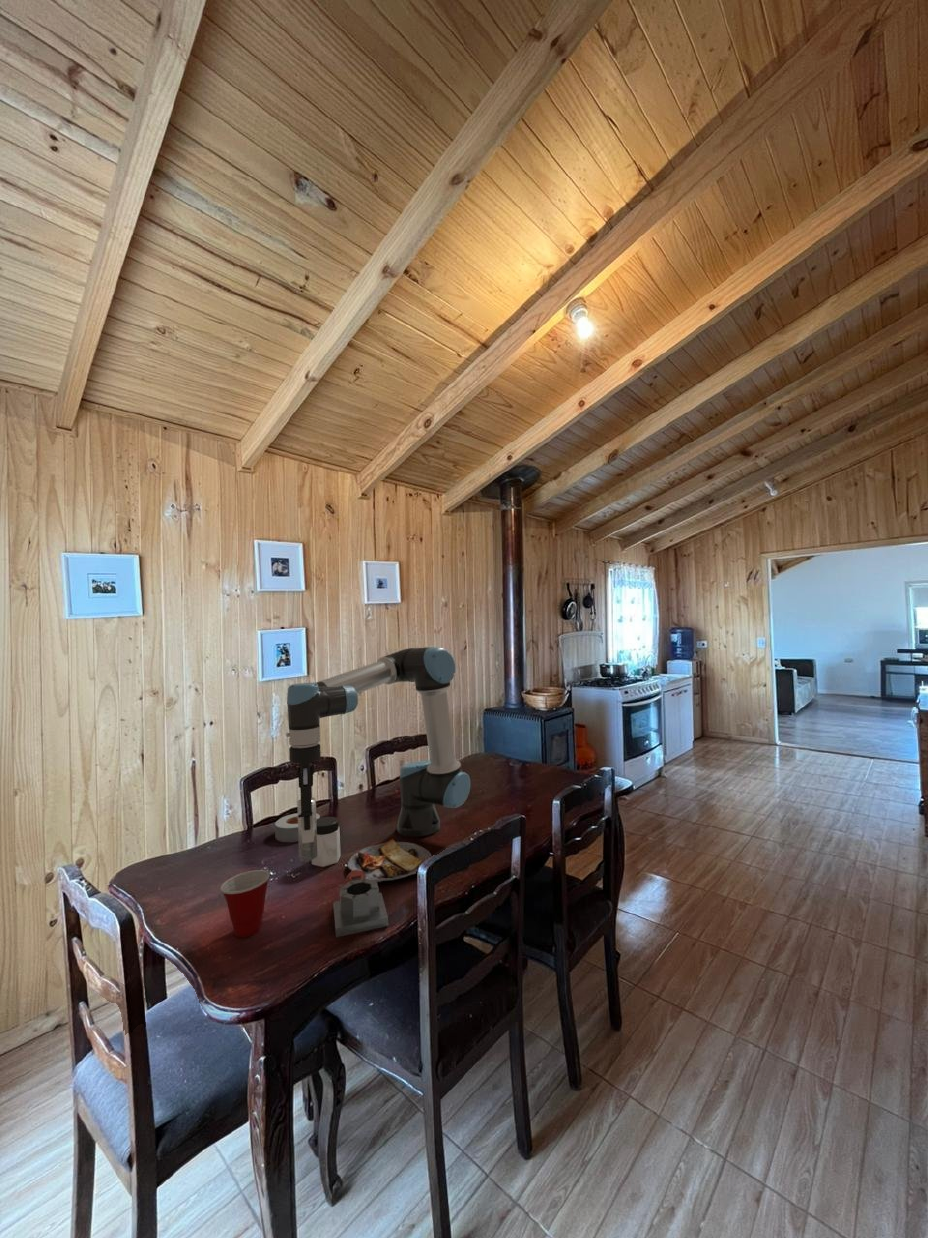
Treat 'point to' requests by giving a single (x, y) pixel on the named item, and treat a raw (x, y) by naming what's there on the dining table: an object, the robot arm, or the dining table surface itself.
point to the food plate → (388, 860)
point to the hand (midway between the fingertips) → (307, 837)
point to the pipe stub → (310, 849)
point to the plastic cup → (246, 900)
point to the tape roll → (288, 828)
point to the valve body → (359, 906)
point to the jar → (327, 841)
